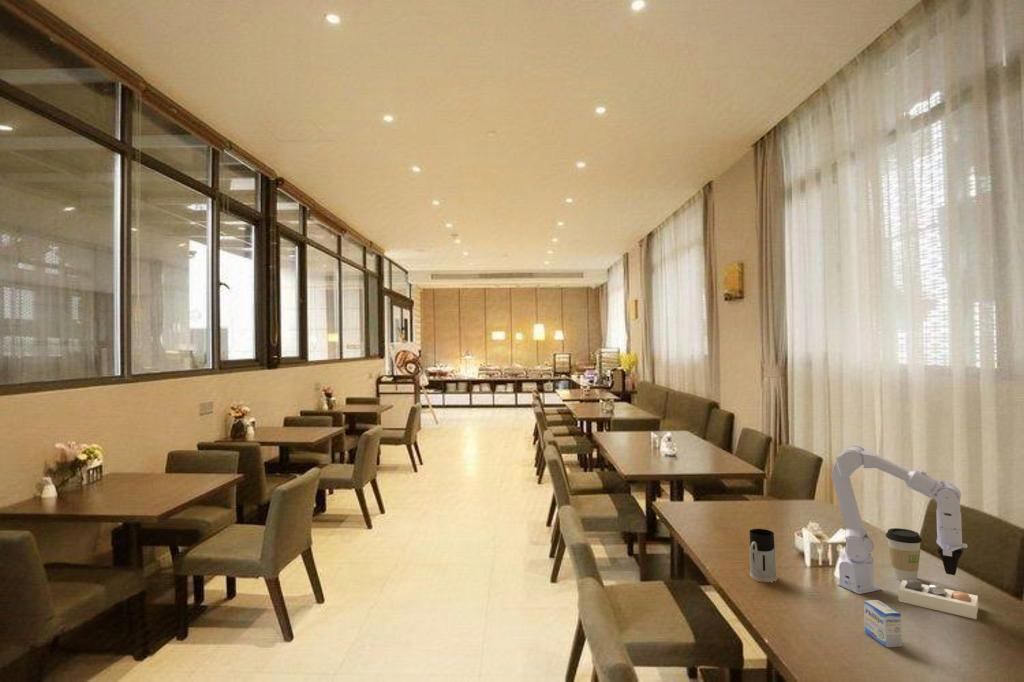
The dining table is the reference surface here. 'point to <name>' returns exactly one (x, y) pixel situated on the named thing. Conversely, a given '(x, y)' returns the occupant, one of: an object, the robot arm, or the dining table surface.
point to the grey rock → (937, 589)
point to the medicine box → (882, 623)
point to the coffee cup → (904, 552)
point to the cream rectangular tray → (939, 601)
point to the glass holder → (762, 555)
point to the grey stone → (914, 584)
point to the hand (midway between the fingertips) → (950, 573)
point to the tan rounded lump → (961, 596)
